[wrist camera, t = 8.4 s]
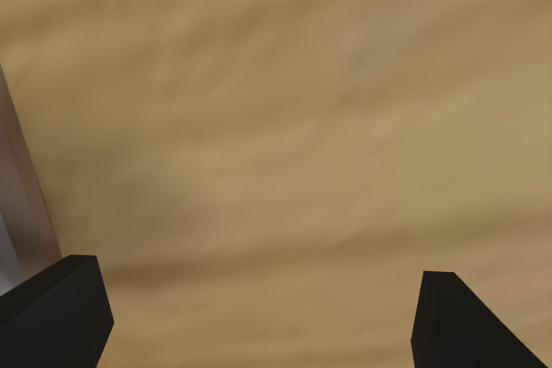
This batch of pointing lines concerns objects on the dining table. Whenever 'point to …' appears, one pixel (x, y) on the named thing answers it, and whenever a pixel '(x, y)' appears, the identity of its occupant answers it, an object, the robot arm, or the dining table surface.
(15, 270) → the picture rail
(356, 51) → the dining table surface
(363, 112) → the dining table surface
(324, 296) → the dining table surface
